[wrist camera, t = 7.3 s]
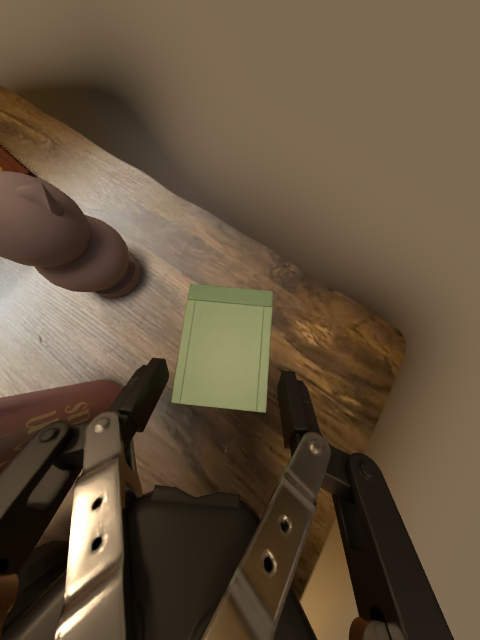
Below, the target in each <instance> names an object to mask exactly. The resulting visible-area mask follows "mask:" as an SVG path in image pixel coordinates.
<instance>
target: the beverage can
mask: <svg viewBox="0 0 480 640" xmlns="http://www.w3.org/2000/svg"><path fill="white" fill-rule="evenodd" d="M121 391H122V389H121V388H120V387H119V386H118V385H117V384H115V383H113V382H111V381H108V380H96V381H91V382H85V383H80V384H74V385H69V386H63V387H58V388H52V389H46V390H41V391H35V392H30V393H24V394H19V395H13V396H8V397H2V398H0V473H1V472H2V471H3V470H4V468H5V467H6V466H7V465H8V464H9V463H10V462H11V461H12V460H13V458H14V457H15V456H16V455H17V454H18V453H19V452H20V451H21V450H22V448H23V447H24V446H25V445H26V444H27V443H28V442H29V441H30V440H31V438H32V437H33V436H34V435H35V434H36V433H37V432H38V431H39V430H41V429H42V428H43V427H45V426H46V425H48V424H50V423H53V422H56V421H66V422H67V423H68V424H69V425H74V424H78V423H83V422H87V421H91V420H92V419H93V418H95V417H96V416H97V415H99V414H101V413H103V412H106V411H107V410H108V409H109V408H110V407H111V405H112V404H113V402H114V401H115V400H116V398H117V397H118V395H119V394H120V393H121Z"/></svg>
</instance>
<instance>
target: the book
mask: <svg viewBox="0 0 480 640" xmlns="http://www.w3.org/2000/svg"><path fill="white" fill-rule="evenodd" d="M2 148H3V147H2V146H1V145H0V171H11V172H18V173H22V174H26V175H29V176H32V177H35V178H36V176H35V175H34V174H33V173H32V172H31V171H30V170H28V169H27V168H26V167H25V166H24V165H23V164H22V163H20V162H19V161H18V160H17V159H16V158H15V157H14V156H12V155H11V154H10V153H9V152H8V151H7V150H6V149H4V148H3V149H4V150H3V149H2ZM10 155H11V156H12V157H11V156H10ZM17 161H18V162H19V163H20V164H19V163H18V162H17ZM24 167H25V168H26V169H27V170H28V171H29V172H28V171H27V170H26V169H25V168H24Z"/></svg>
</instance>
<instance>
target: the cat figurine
mask: <svg viewBox="0 0 480 640" xmlns="http://www.w3.org/2000/svg"><path fill="white" fill-rule="evenodd" d="M0 256H1V257H3V258H6V259H9V260H12V261H14V262H17V263H20V264H23V265H28V266H35V268H36V269H37V271H38V272H39V273H40V274H41V275H43V276H44V277H45V278H46V279H47V280H49V281H50V282H51V283H53V284H55V285H57V286H59V287H62V288H65V289H68V290H71V291H77V292H96V293H98V294H101V295H103V296H106V297H108V298H118V297H122V296H125V295H127V294H128V293H130V292H132V290H133V289H134V288H135V287H136V286H137V285H138V283H139V281H140V279H141V273H142V271H141V265H140V263H139V262H138V260H137V259H136V258H135V257H134V256H133V255H132V254H131V253H129V252H128V248H127V245H126V243H125V242H124V240H123V239H122V237H121V236H120V234H119V233H118V232H117V231H116V230H115V229H113V228H112V227H111V226H109V225H108V224H106V223H105V222H103V221H101V220H99V219H96V218H93V217H90V216H87V215H84V214H83V212H82V211H81V209H80V208H79V206H78V205H77V204H76V203H75V202H74V201H73V200H72V199H71V198H70V197H69V196H67V195H66V194H65V193H63V192H62V191H61V190H59V189H58V188H56V187H55V186H53V185H52V184H50V183H48V182H46V181H44V180H41V179H38V178H35V177H32V176H29V175H26V174H22V173H18V172H11V171H0Z"/></svg>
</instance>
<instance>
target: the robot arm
mask: <svg viewBox="0 0 480 640" xmlns="http://www.w3.org/2000/svg"><path fill="white" fill-rule="evenodd" d="M168 379H169V372H168V368H167V364H166V360H165V359H161V358H152V359H151V360H150V362H149V363H148V365H143V366H142V367H140V368H139V369H138V370H137V371H136V372H135V373H134V374H133V376H132V377H131V379H130V380H129V381H128V383H127V385H126V386H125V387H124V388H123V390H122V391H121V393H120V394H119V395H118V397H117V398H116V400H115V401H114V402H113V404H112V405H111V407H110V408H109V409H108V410H107V411H106V412H103V413H101V414H99V415H97V416H96V417H95V418H93V419H92V420H91V421H87V422H83V423H78V424H74V425H69V424H68V423H67V422H66V421H56V422H53V423H50V424H48V425H46V426H45V427H43V428H42V429H41V430H39V431H38V432H37V433H36V434H35V435H34V436H33V437H32V438H31V440H30V441H29V442H28V443H27V444H26V445H25V446H24V447H23V448H22V450H21V451H20V452H19V453H18V454H17V455H16V456H15V457H14V458H13V460H12V461H11V462H10V463H9V464H8V465H7V466H6V467H5V468H4V470H3V471H2V472H1V473H0V640H317V638H316V636H315V633H314V631H313V629H312V627H311V625H310V623H309V621H308V619H307V617H306V615H305V613H304V610H303V608H302V606H301V604H300V602H299V600H298V597H297V595H296V593H295V591H294V589H293V587H292V585H291V583H292V580H293V577H294V574H295V571H296V568H297V565H298V562H299V559H300V556H301V553H302V550H303V547H304V544H305V541H306V538H307V535H308V532H309V529H310V526H311V523H312V520H313V517H314V514H315V510H316V499H317V496H318V493H319V490H320V487H321V488H323V489H325V490H327V491H328V492H330V493H331V494H332V498H333V503H334V507H335V512H336V516H337V520H338V524H339V529H340V534H341V538H342V542H343V547H344V551H345V555H346V560H347V564H348V568H349V573H350V578H351V582H352V586H353V591H354V595H355V600H356V604H357V608H358V613H359V617H357V618H355V619H354V620H353V622H352V624H351V627H350V632H349V640H454V638H453V636H452V634H451V632H450V629H449V627H448V625H447V622H446V620H445V618H444V615H443V613H442V611H441V608H440V606H439V604H438V602H437V599H436V597H435V595H434V592H433V590H432V588H431V585H430V583H429V581H428V579H427V576H426V574H425V572H424V569H423V567H422V565H421V562H420V560H419V558H418V555H417V553H416V551H415V549H414V546H413V544H412V541H411V539H410V537H409V535H408V532H407V530H406V528H405V525H404V523H403V521H402V518H401V516H400V514H399V512H398V510H397V507H396V505H395V502H394V500H393V498H392V495H391V493H390V491H389V488H388V486H387V484H386V481H385V479H384V477H383V475H382V472H381V470H380V469H379V467H378V466H377V465H376V463H375V462H374V461H373V460H372V459H371V458H369V457H368V456H366V455H364V454H362V453H354V454H352V455H349V454H347V453H345V452H343V451H341V450H339V449H336V448H335V447H333V446H331V445H330V444H329V443H328V442H327V441H326V440H325V439H324V438H323V436H322V434H321V432H320V430H319V427H318V423H317V420H316V416H315V413H314V409H313V406H312V404H311V399H310V396H309V392H308V389H307V387H306V386H305V384H304V383H303V381H298V380H297V379H296V375H295V372H292V371H282V373H281V377H280V380H279V383H278V399H279V407H280V415H281V423H282V430H283V438H284V446H285V448H288V449H290V451H291V458H290V460H289V462H288V464H287V466H286V468H285V470H284V472H283V474H282V476H281V478H280V479H279V481H278V483H277V485H276V487H275V489H274V491H273V493H272V495H271V497H270V498H269V500H268V502H267V504H266V506H265V508H264V510H263V512H262V514H261V516H260V518H259V517H258V515H257V514H256V513H255V511H254V510H253V509H252V508H251V507H250V506H249V505H248V504H246V503H245V502H243V501H242V500H240V494H231V493H222V492H218V493H214V494H210V495H206V496H202V497H193V496H191V495H190V494H188V493H186V492H184V491H182V490H180V489H178V488H176V487H169V486H160V485H155V488H154V491H151V492H148V493H146V494H144V495H143V494H142V487H141V483H140V480H139V477H138V473H137V467H136V459H135V452H134V444H133V436H134V434H135V432H143V431H144V429H145V427H146V424H147V422H148V420H149V418H150V416H151V414H152V412H153V410H154V408H155V406H156V404H157V402H158V400H159V398H160V396H161V394H162V392H163V390H164V388H165V386H166V384H167V382H168ZM82 468H83V472H82V475H81V476H80V477H78V475H79V473H80V472H81V470H82ZM77 477H78V478H77ZM76 478H77V480H76ZM75 480H76V483H75V488H74V498H73V509H72V520H71V532H70V543H69V554H68V565H67V569H66V570H65V571H64V572H63V574H62V575H61V576H60V577H59V578H58V579H57V580H56V581H55V582H54V583H53V584H52V585H51V586H50V587H49V588H48V589H47V590H46V591H45V592H44V593H43V594H42V595H41V596H40V597H39V598H38V599H37V600H36V601H35V602H34V604H33V605H32V606H31V607H30V608H29V609H28V610H27V611H26V612H25V613H24V614H23V615H22V616H21V617H20V618H19V619H18V620H17V621H16V622H15V623H14V624H13V625H12V626H11V627H10V628H9V629H8V630H7V631H6V632H5V634H4V635H3V636H2V637H1V632H2V627H3V623H4V620H5V618H6V615H7V614H8V613H9V612H10V610H11V609H12V607H13V606H14V604H15V601H16V597H17V594H16V593H17V590H18V584H19V579H18V574H19V573H20V571H21V569H22V568H23V566H24V564H25V563H26V561H27V559H28V558H29V556H30V554H31V553H32V551H33V549H34V548H35V546H36V544H37V543H38V541H39V539H40V538H41V536H42V535H43V533H44V531H45V530H46V528H47V526H48V525H49V523H50V521H51V520H52V518H53V516H54V515H55V513H56V511H57V510H58V508H59V506H60V505H61V503H62V501H63V500H64V498H65V496H66V495H67V493H68V492H69V490H70V488H71V487H72V485H73V483H74V482H75Z"/></svg>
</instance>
